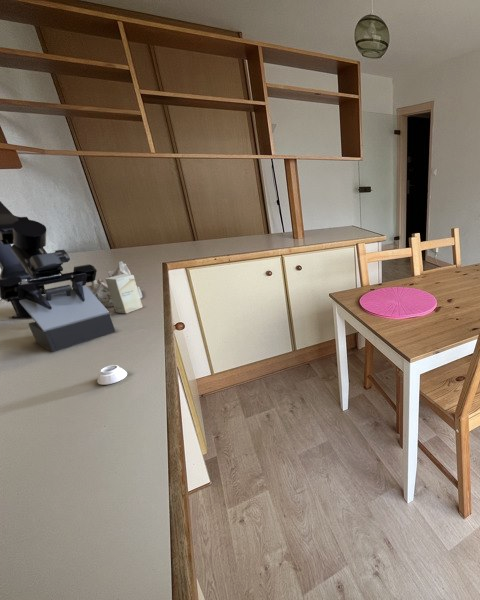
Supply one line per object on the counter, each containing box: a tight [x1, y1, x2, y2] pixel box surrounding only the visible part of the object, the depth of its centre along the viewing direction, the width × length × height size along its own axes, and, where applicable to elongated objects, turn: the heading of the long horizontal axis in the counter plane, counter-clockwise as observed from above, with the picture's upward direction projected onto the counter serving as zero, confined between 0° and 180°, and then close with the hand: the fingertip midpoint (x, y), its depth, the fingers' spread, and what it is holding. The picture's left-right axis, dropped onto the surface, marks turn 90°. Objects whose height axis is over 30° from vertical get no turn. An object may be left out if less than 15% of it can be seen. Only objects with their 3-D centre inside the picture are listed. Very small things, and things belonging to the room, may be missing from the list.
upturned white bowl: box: [96, 364, 128, 386], centre depth 71 cm, size 5×3×5 cm
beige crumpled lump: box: [83, 261, 143, 308], centre depth 114 cm, size 16×16×15 cm
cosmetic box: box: [104, 274, 144, 314], centre depth 106 cm, size 6×4×12 cm
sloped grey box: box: [28, 313, 116, 353], centre depth 89 cm, size 11×14×6 cm
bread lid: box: [19, 284, 110, 332], centre depth 85 cm, size 11×14×5 cm
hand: (67, 304), depth 85 cm, fingers open, 6 cm apart
